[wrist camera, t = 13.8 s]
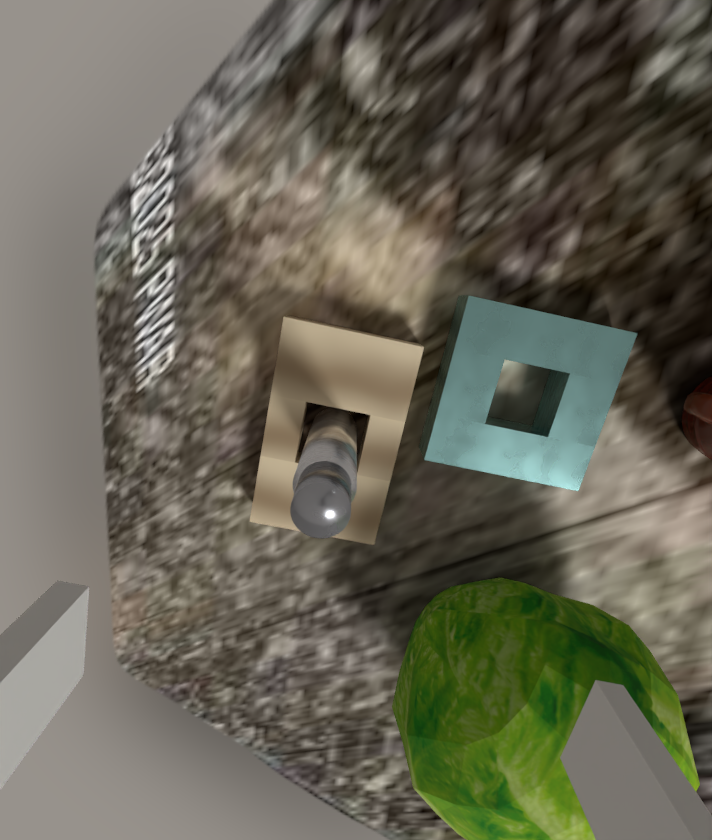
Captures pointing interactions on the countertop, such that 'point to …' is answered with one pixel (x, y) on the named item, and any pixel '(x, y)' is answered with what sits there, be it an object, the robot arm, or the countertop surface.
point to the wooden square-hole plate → (340, 388)
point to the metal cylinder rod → (326, 475)
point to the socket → (560, 404)
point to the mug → (699, 417)
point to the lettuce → (517, 705)
